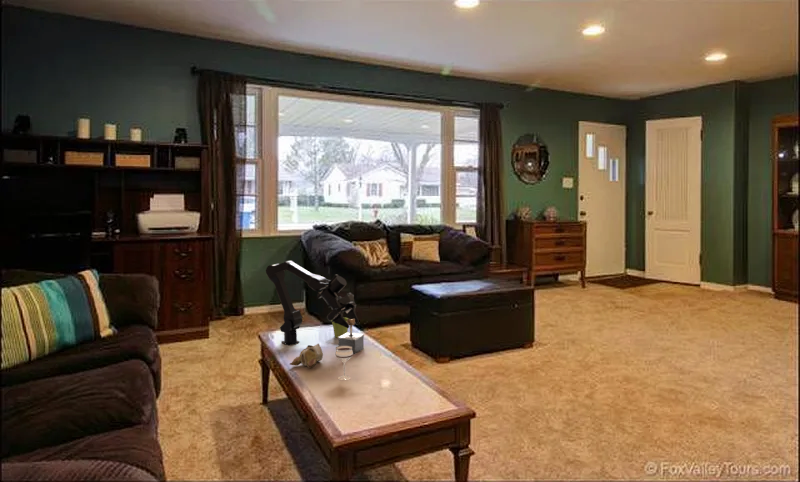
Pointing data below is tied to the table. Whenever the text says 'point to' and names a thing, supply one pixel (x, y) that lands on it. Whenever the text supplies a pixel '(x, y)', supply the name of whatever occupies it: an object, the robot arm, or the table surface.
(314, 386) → the table surface
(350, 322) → the bronze domed cylinder
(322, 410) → the table surface
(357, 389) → the table surface
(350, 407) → the table surface
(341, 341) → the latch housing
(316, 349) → the ceramic sculpture
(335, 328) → the plant pot
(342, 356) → the wineglass
